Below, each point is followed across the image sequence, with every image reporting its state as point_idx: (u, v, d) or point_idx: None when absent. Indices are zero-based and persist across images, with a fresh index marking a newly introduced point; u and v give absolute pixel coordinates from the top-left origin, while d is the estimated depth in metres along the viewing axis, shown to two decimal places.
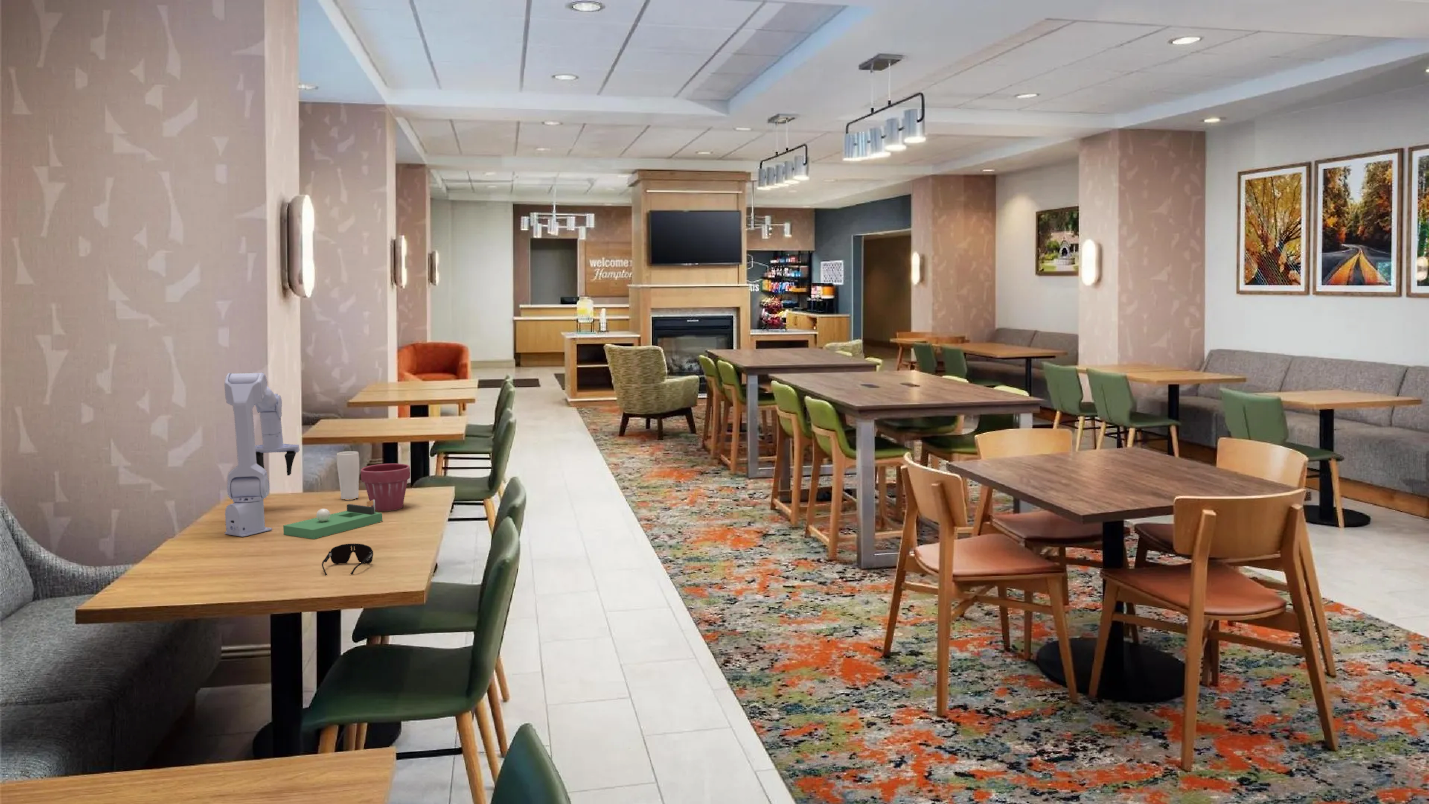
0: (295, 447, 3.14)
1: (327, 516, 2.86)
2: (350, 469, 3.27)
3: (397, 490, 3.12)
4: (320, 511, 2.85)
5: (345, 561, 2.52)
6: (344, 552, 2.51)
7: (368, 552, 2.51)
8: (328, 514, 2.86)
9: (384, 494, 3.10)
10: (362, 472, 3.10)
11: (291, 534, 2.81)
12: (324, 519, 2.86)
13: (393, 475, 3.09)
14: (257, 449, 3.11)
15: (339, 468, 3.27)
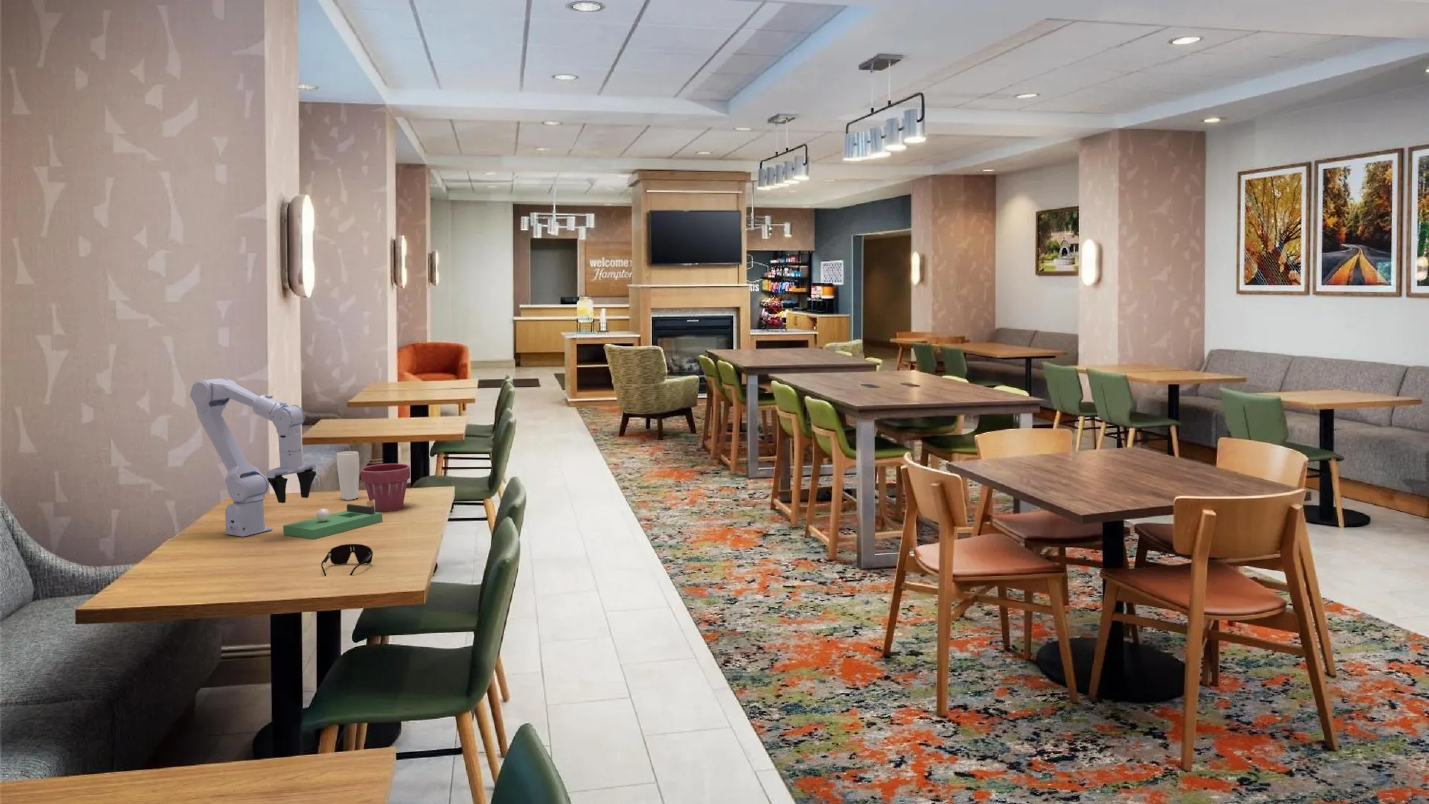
0: None
1: (327, 516, 2.86)
2: (350, 469, 3.27)
3: (397, 490, 3.12)
4: (320, 511, 2.85)
5: (344, 561, 2.51)
6: (344, 552, 2.51)
7: (367, 552, 2.51)
8: (328, 514, 2.86)
9: (384, 494, 3.10)
10: (362, 472, 3.10)
11: (291, 534, 2.81)
12: (324, 519, 2.86)
13: (393, 475, 3.09)
14: None
15: (339, 468, 3.27)
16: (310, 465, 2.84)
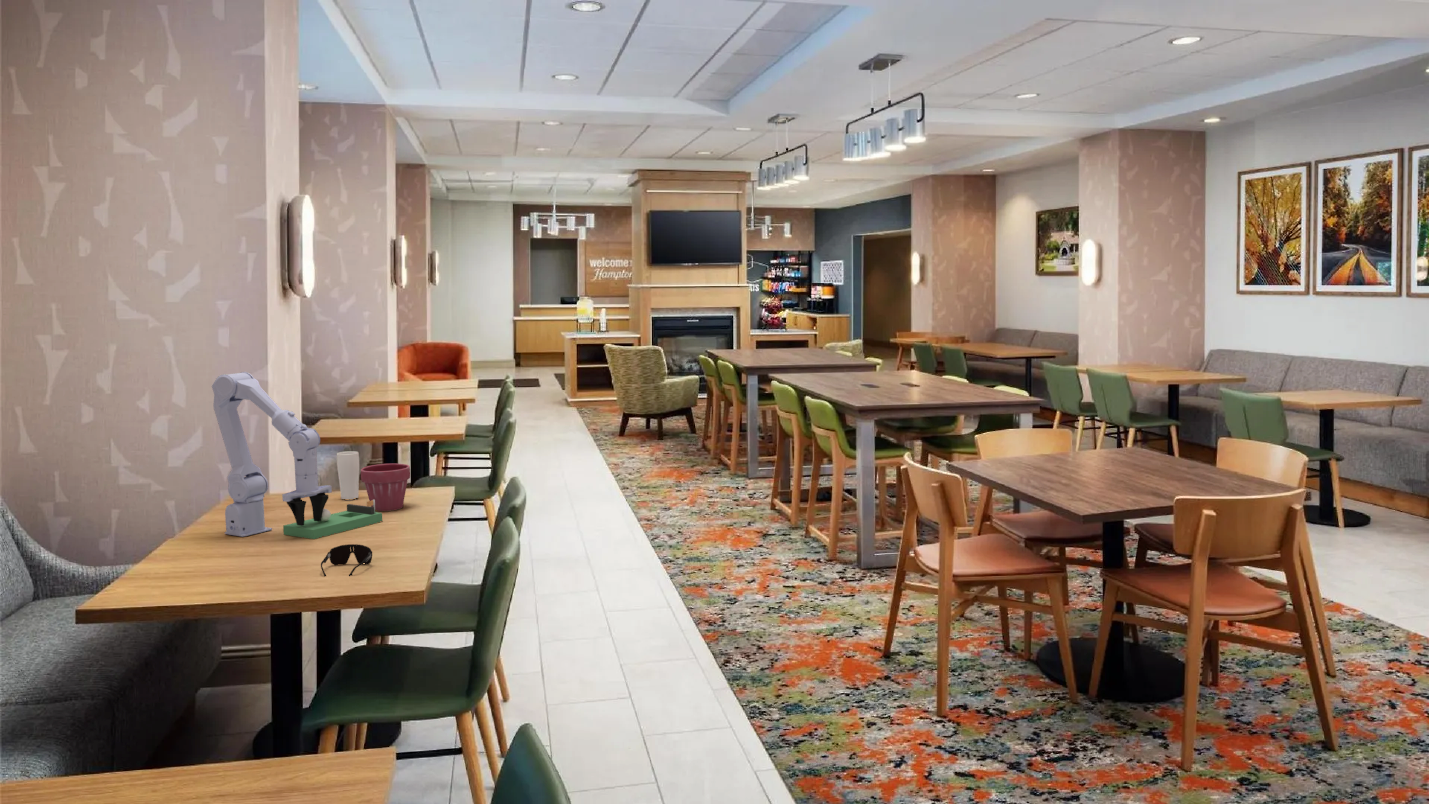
0: None
1: (328, 516, 2.86)
2: (350, 469, 3.27)
3: (397, 490, 3.12)
4: None
5: (344, 562, 2.51)
6: (343, 552, 2.51)
7: (367, 553, 2.50)
8: (329, 514, 2.86)
9: (384, 494, 3.10)
10: (362, 472, 3.10)
11: (291, 534, 2.81)
12: (324, 519, 2.86)
13: (393, 475, 3.09)
14: None
15: (339, 468, 3.27)
16: (326, 488, 2.85)
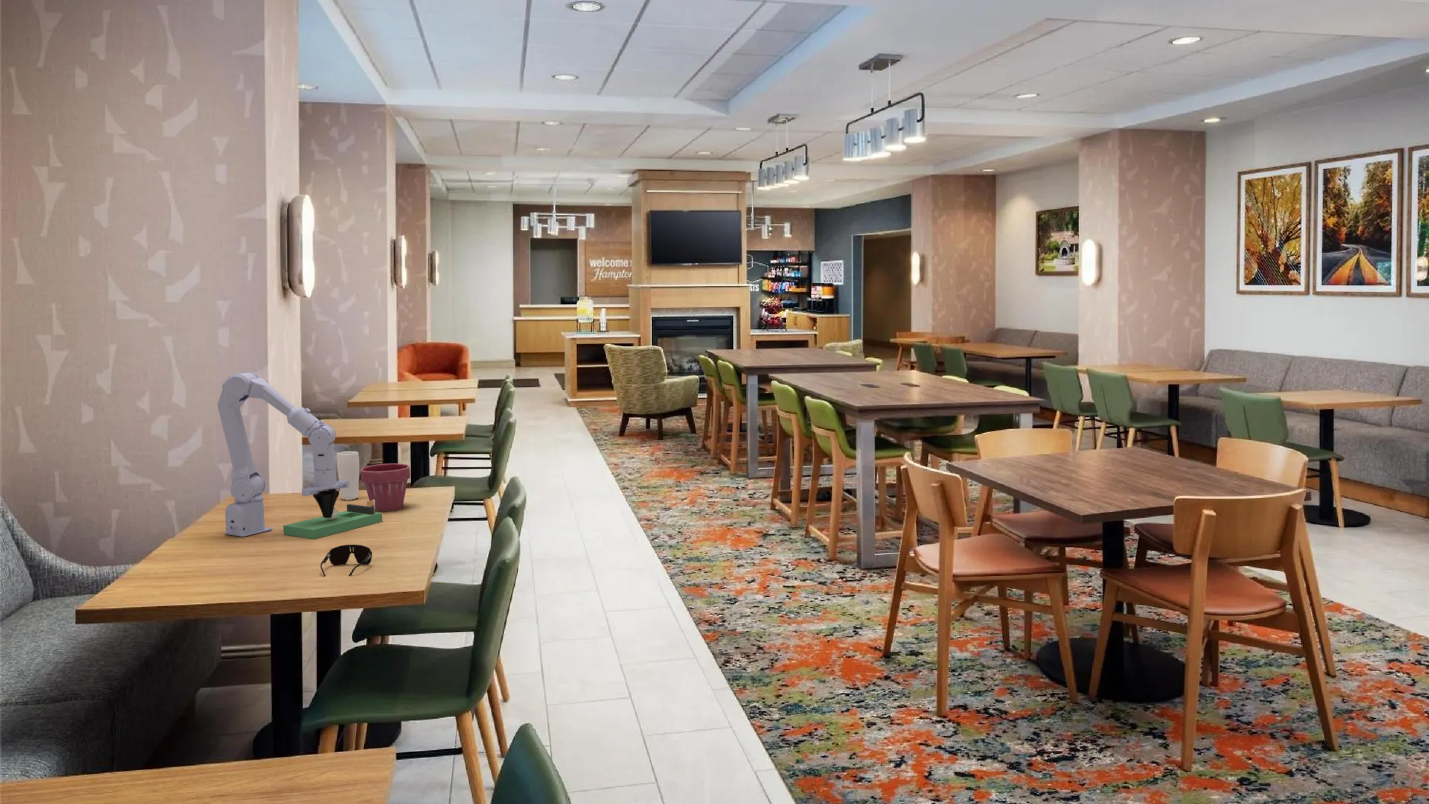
0: None
1: (334, 514, 2.88)
2: (350, 469, 3.27)
3: (397, 490, 3.12)
4: (335, 508, 2.90)
5: (344, 562, 2.51)
6: (343, 553, 2.51)
7: (367, 553, 2.50)
8: (336, 515, 2.88)
9: (384, 494, 3.10)
10: (362, 472, 3.10)
11: (291, 534, 2.81)
12: None
13: (393, 475, 3.09)
14: None
15: (339, 468, 3.27)
16: (344, 483, 2.90)
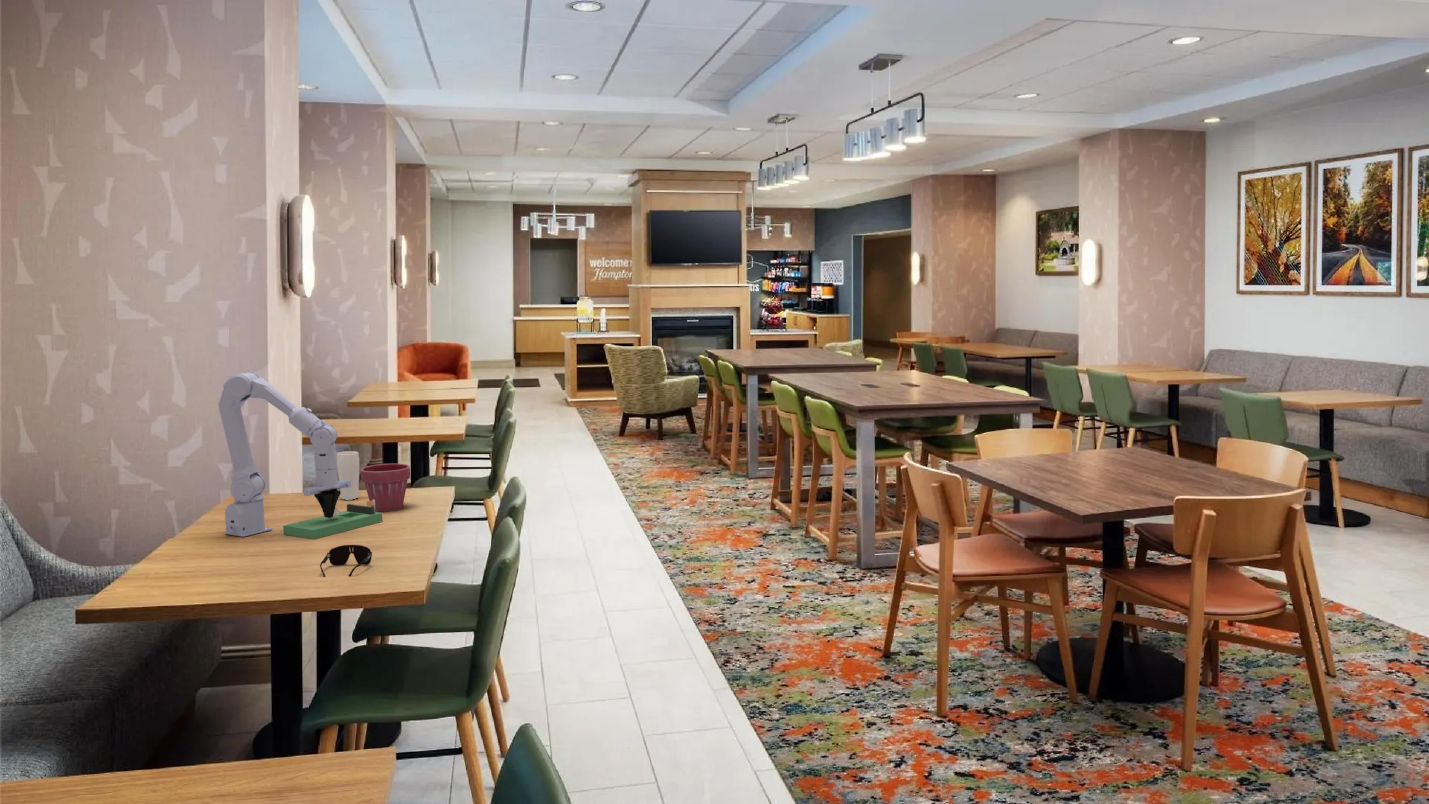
0: None
1: (336, 513, 2.88)
2: (350, 469, 3.27)
3: (397, 490, 3.12)
4: None
5: (343, 562, 2.50)
6: (343, 553, 2.50)
7: (367, 553, 2.50)
8: (337, 515, 2.89)
9: (384, 494, 3.10)
10: (362, 472, 3.10)
11: (291, 534, 2.81)
12: None
13: (393, 475, 3.09)
14: None
15: (339, 468, 3.27)
16: (345, 482, 2.91)
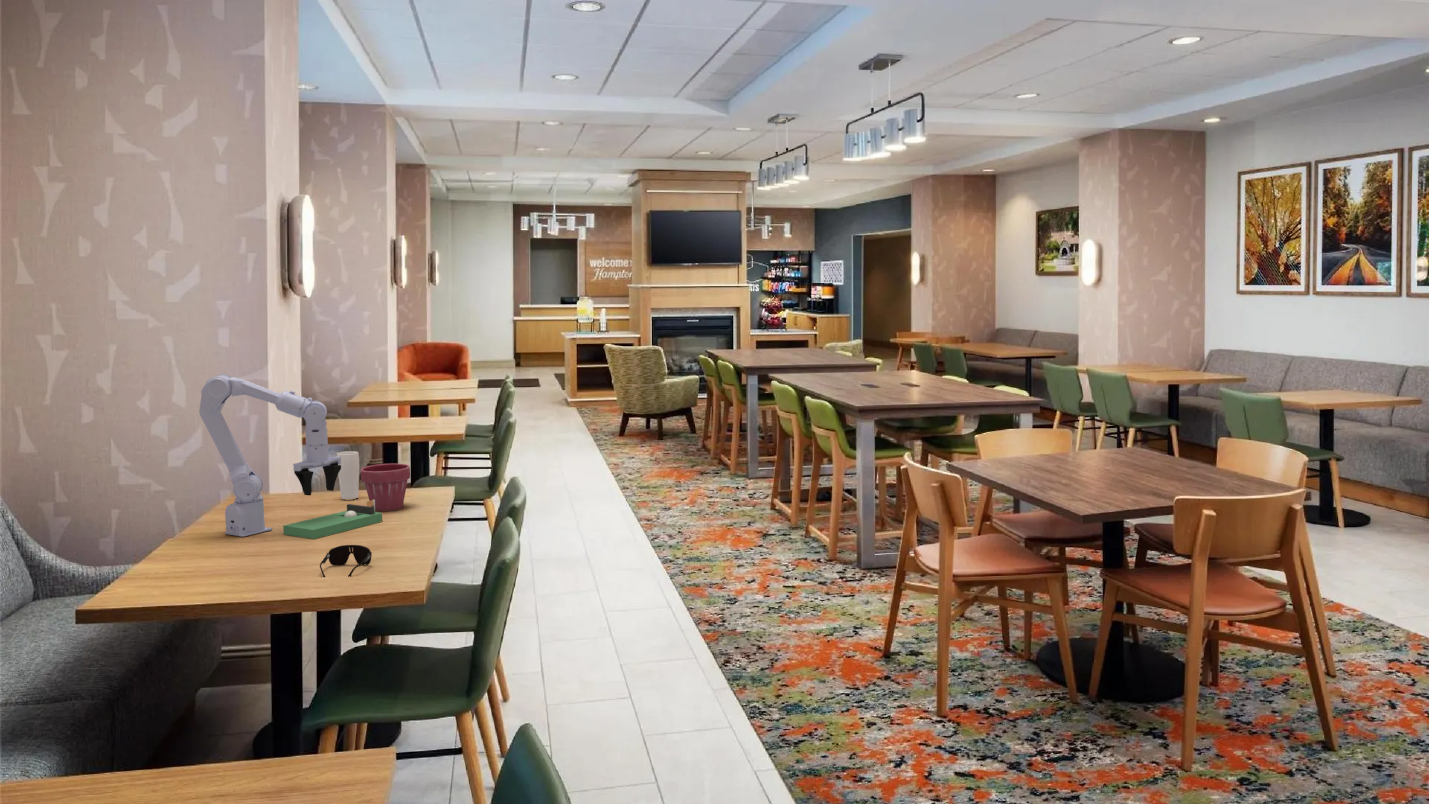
0: None
1: None
2: (350, 469, 3.27)
3: (397, 490, 3.12)
4: (350, 514, 2.94)
5: (343, 562, 2.50)
6: (342, 553, 2.50)
7: (366, 553, 2.50)
8: None
9: (384, 494, 3.10)
10: (362, 472, 3.10)
11: (291, 534, 2.81)
12: None
13: (393, 475, 3.09)
14: None
15: None
16: (335, 459, 2.93)
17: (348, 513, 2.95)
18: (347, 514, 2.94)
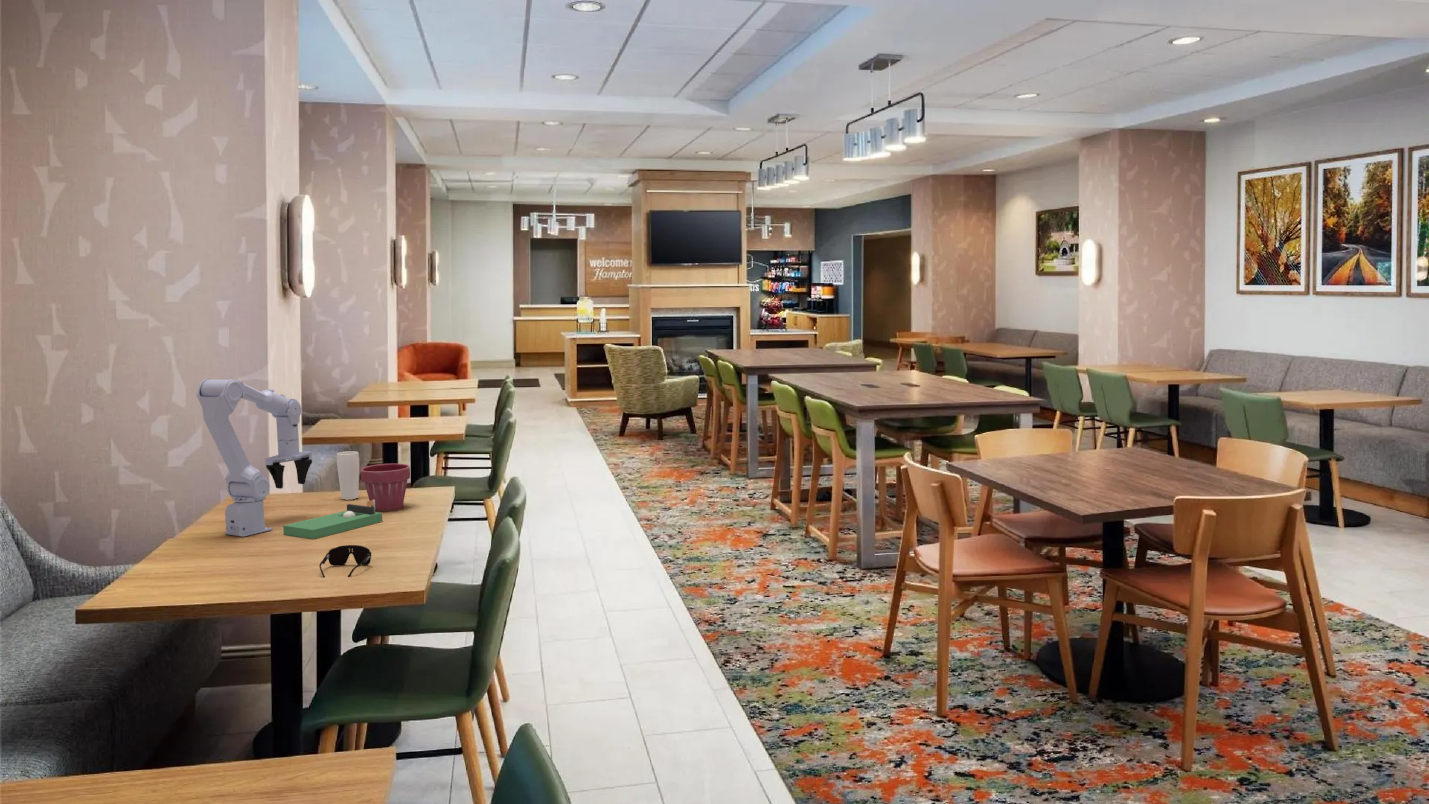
0: None
1: None
2: (350, 469, 3.27)
3: (397, 490, 3.12)
4: (347, 515, 2.94)
5: (343, 563, 2.50)
6: (342, 553, 2.50)
7: (366, 554, 2.49)
8: None
9: (384, 494, 3.10)
10: (362, 472, 3.10)
11: (291, 534, 2.81)
12: None
13: (393, 475, 3.09)
14: None
15: (339, 468, 3.27)
16: (306, 453, 3.03)
17: (346, 515, 2.94)
18: (345, 516, 2.94)
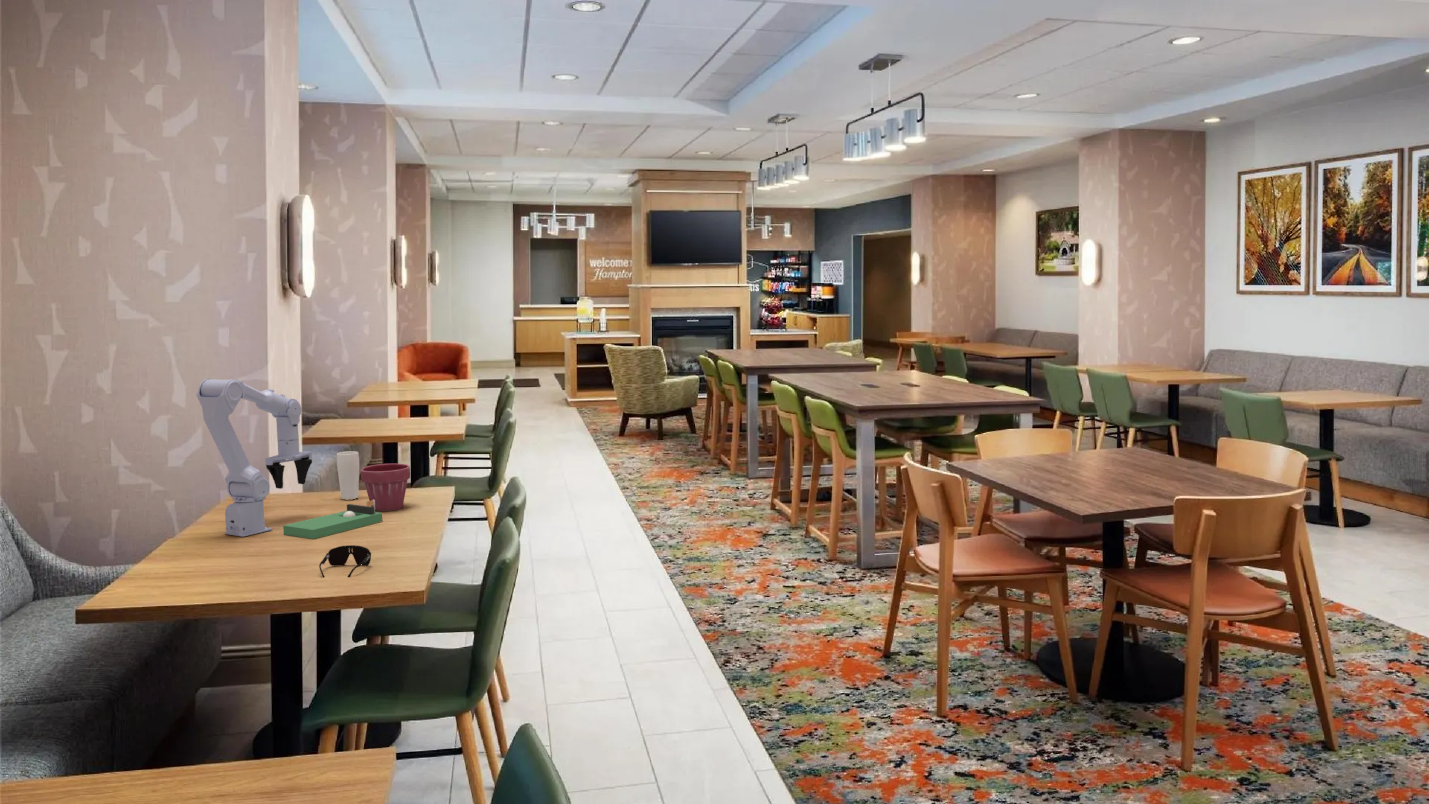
0: None
1: None
2: (350, 469, 3.27)
3: (397, 490, 3.12)
4: (347, 515, 2.94)
5: (343, 563, 2.50)
6: (342, 553, 2.50)
7: (366, 554, 2.49)
8: None
9: (384, 494, 3.10)
10: (362, 472, 3.10)
11: (291, 534, 2.81)
12: None
13: (393, 475, 3.09)
14: None
15: (339, 468, 3.27)
16: (306, 453, 3.03)
17: (346, 515, 2.94)
18: (345, 516, 2.94)
